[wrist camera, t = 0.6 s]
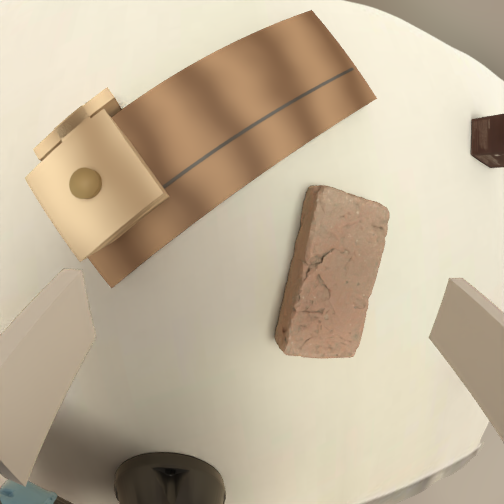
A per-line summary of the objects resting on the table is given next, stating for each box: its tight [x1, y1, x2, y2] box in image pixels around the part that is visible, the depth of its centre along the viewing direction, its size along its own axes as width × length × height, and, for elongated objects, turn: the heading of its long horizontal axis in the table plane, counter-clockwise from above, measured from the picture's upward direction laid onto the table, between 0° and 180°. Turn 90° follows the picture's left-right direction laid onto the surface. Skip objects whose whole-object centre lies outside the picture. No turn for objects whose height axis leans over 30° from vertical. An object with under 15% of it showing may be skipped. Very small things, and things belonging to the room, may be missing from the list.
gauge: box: [25, 87, 170, 262], centre depth 20 cm, size 8×11×13 cm
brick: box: [275, 185, 389, 358], centre depth 31 cm, size 17×8×5 cm, turn 168°
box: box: [471, 114, 504, 168], centre depth 32 cm, size 6×6×7 cm
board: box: [88, 10, 377, 288], centre depth 27 cm, size 32×12×3 cm, turn 126°
